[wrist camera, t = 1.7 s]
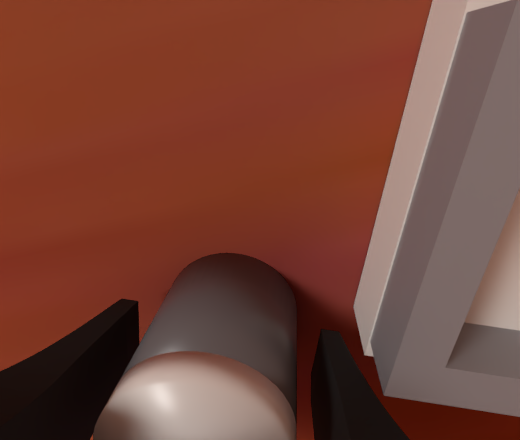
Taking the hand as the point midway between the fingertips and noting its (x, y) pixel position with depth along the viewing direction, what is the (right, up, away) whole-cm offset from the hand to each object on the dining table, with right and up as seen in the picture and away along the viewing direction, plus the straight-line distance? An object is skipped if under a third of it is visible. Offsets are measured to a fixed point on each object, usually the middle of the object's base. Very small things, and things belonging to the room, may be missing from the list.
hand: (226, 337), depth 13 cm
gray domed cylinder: (0, +1, +1) cm, 2 cm away
